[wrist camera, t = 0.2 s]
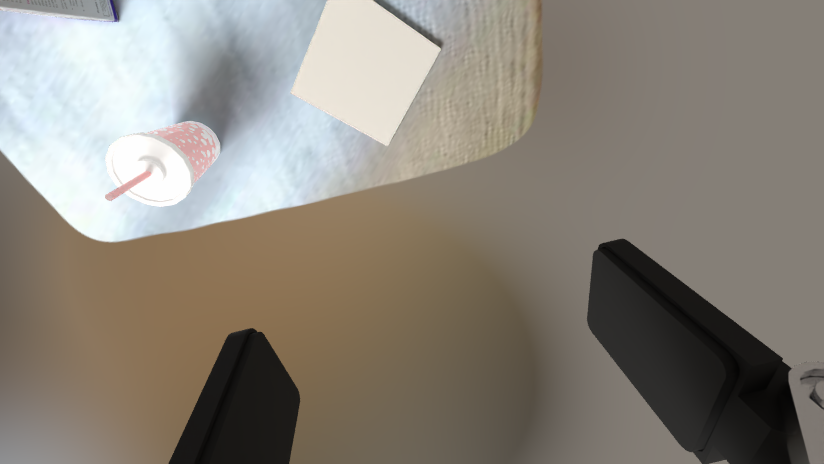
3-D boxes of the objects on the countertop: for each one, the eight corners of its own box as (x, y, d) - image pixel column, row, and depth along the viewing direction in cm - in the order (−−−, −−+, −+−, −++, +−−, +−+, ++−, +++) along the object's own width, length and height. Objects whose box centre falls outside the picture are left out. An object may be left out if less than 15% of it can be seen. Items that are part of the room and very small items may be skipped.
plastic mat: (337, -24, 30) (337, -25, 29) (439, 48, 34) (441, 48, 33) (291, 92, 34) (290, 93, 33) (387, 144, 38) (387, 146, 37)
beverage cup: (221, 113, 34) (142, 154, 22) (234, 171, 37) (171, 235, 25) (155, 112, 33) (35, 153, 21) (173, 171, 36) (78, 237, 24)
